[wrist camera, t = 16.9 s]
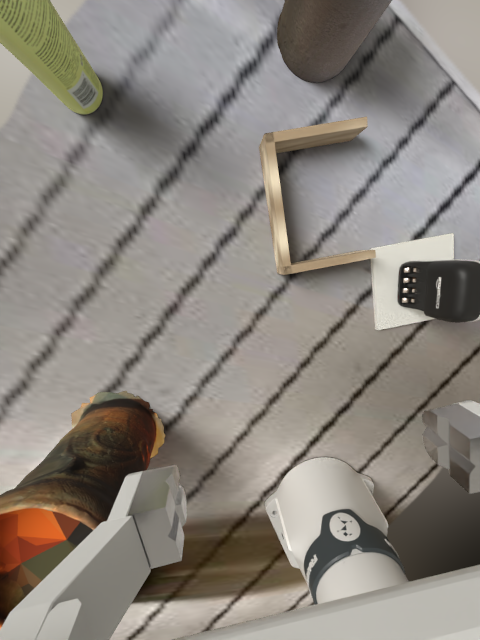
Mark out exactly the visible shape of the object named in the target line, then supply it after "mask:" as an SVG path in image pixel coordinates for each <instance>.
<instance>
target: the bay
mask: <svg viewBox="0 0 480 640" xmlns="http://www.w3.org/2000/svg"><path fill="white" fill-rule="evenodd" d="M366 127H367V117H362V118H356V119H350V120H344V121H338V122H332V123H326V124H320V125H314V126H308V127H302V128H296V129H290V130H284V131H278V132H272V133H266V134H264V136H263V139H262V141H261V144H260V146H259V150H260V157H261V164H262V171H263V178H264V184H265V191H266V198H267V205H268V212H269V219H270V226H271V232H272V239H273V246H274V253H275V260H276V267H277V273H278V274H282V275H287V274H292V273H298V272H303V271H308V270H313V269H319V268H324V267H329V266H335V265H340V264H345V263H350V262H356V261H361V260H366V259H372V258H376V252H375V250H361V251H354V252H349V253H344V254H338V255H333V256H328V257H322V258H317V259H312V260H306V261H301V262H296V263H291V262H290V254H289V247H288V239H287V232H286V224H285V217H284V209H283V202H282V194H281V187H280V179H279V172H278V165H277V157H276V153H281V152H287V151H293V150H299V149H305V148H311V147H317V146H323V145H329V144H334V143H340V142H346V141H351V140H352V139H354V138H355V137H356V136H357V135H358V134H359V133H361V132H362V131H363V130H364V129H365V128H366Z"/></svg>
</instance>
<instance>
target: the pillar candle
mask: <svg viewBox="0 0 480 640" xmlns="http://www.w3.org/2000/svg"><path fill="white" fill-rule="evenodd" d="M391 1H392V0H285V3H284V7H283V10H282V12H281V14H280V17H279V22H278V28H277V29H278V30H277V40H278V46H279V49H280V52H281V54H282V58H283V60H284V62H285V63H286V65H287V66H288V68H289V69H290V70H291V71H292V72H293V73H294V74H295V75H296V76H298V77H300V78H301V79H303V80H306V81H309V82H323V81H327V80H329V79H331V78H333V77H335V76H336V75H338V74H339V73H340V72H341V71H342V70H343V69H344V68H345V66H346V65H347V64H348V62H349V61H350V59H351V58H352V56H353V55H354V53H355V52H356V51H357V49H358V48H359V47H360V45H361V44H362V42H363V41H364V40H365V38H366V37H367V35H368V34H369V32H370V31H371V30H372V28H373V27H374V25H375V24H376V23H377V21H378V20H379V18H380V17H381V15H382V14H383V12H384V11H385V10H386V8H387V7H388V5H389V4H390V2H391Z"/></svg>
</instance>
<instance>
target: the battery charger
mask: <svg viewBox="0 0 480 640" xmlns="http://www.w3.org/2000/svg"><path fill="white" fill-rule="evenodd" d="M397 300H398V304H399V305H400V306H403V307H406V308H412V309H417V310H421V311H424V314H425V315H426V316H429V317H432V318H435V319H439V320H444V321H448V322H475V321H478V320H480V261H477V260H461V259H453V260H434V261H422V260H414V261H409V262H406V263H404V264H402V265H401V266H400V268H399V277H398V296H397Z"/></svg>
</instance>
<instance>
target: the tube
mask: <svg viewBox="0 0 480 640" xmlns="http://www.w3.org/2000/svg"><path fill="white" fill-rule="evenodd" d="M0 43H1V44H2V45H3V46H4V47H5V48H6V49H8V50H9V51H10V52H11V53H12V54H13V55H14V56H15V57H16V58H17V59H18V60H19V61H20V62H21V63H22V64H24V65H25V66H26V67H27V68H28V69H29V70H30V71H31V72H32V73H33V74H34V75H35V76H36V77H37V78H38V79H39V80H40V81H41V82H42V83H43V84H44V85H45V86H46V87H47V88H48V89H49V90H50V91H51V92H52V93H54V94H55V95H56V96H57V97H58V98H59V99H60V100H61V101H62V102H63V103H64V104H65V105H66V106H67V107H68V108H69V109H70V110H72V111H74V112H76V113H79V114H89V113H92V112H94V111H95V110H96V109H97V108H98V107H99V105H100V104H101V101H102V96H103V90H102V86H101V83H100V81H99V79H98V77H97V75H96V74H95V72H94V71H93V69H92V67H91V66H90V64H89V63H88V61H87V59H86V58H85V56H84V55H83V53H82V51H81V50H80V48H79V47H78V45H77V44H76V42H75V40H74V39H73V37H72V36H71V34H70V32H69V31H68V29H67V28H66V26H65V24H64V23H63V21H62V19H61V18H60V17H59V15H58V13H57V11H56V10H55V8H54V6H53V5H52V3H51V2H50V0H0Z"/></svg>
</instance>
